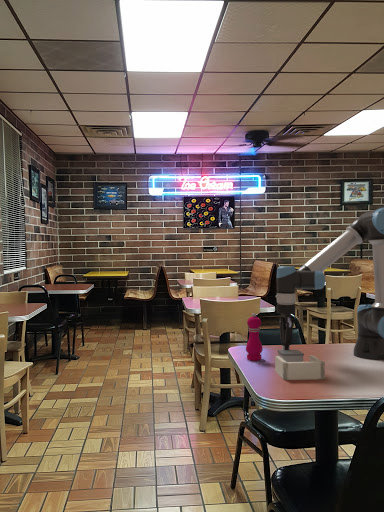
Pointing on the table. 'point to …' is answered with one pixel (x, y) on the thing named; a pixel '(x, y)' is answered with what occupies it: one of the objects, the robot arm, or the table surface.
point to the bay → (300, 369)
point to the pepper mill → (254, 339)
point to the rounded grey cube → (291, 355)
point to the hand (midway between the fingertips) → (285, 360)
